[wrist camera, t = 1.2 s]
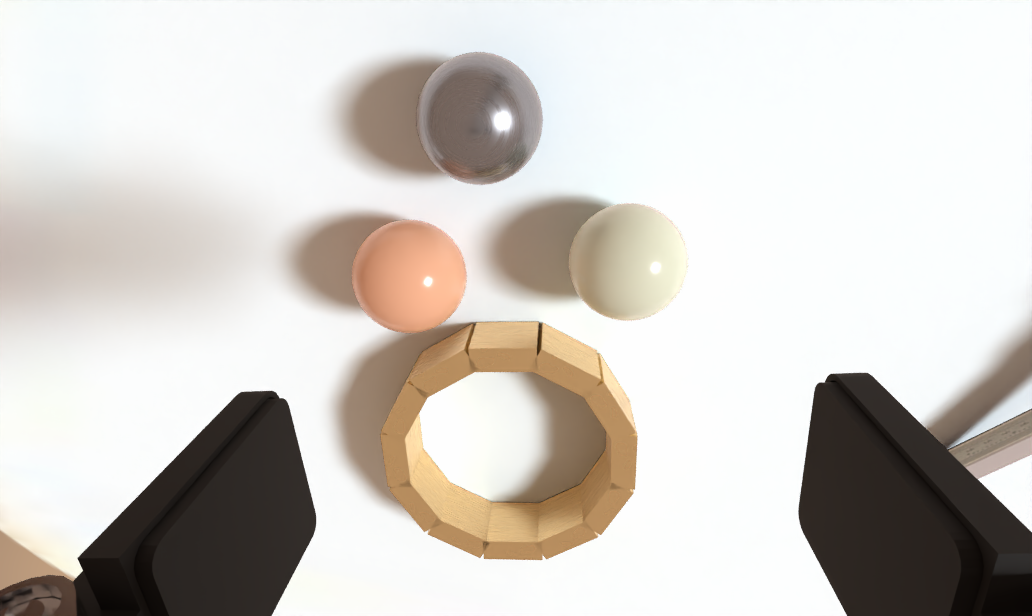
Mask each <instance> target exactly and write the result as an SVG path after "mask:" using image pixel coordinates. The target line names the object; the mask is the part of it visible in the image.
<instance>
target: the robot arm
mask: <svg viewBox="0 0 1032 616" xmlns="http://www.w3.org/2000/svg"><path fill="white" fill-rule="evenodd" d="M799 521H800V525H801V528H802V531H803V533H804V535H805V537H806V539H807V541H808V542H809V544H810V546H811V548H812V550H813V552H814V554H815V556H816V558H817V559H818V561H819V563H820V565H821V567H822V569H823V571H824V573H825V575H826V577H827V578H828V580H829V582H830V584H831V586H832V588H833V590H834V592H835V594H836V595H837V597H838V599H839V601H840V603H841V605H842V607H843V609H844V611H845V612H846V614H847V616H1032V532H1031V531H1030V530H1029V529H1028V528H1027V527H1026V526H1025V525H1023V524H1022V523H1021V522H1020V521H1019V520H1018V519H1017V518H1016V517H1015V516H1014V515H1013V514H1012V513H1011V512H1010V511H1009V510H1008V509H1007V508H1006V507H1005V506H1004V505H1003V504H1002V503H1001V502H1000V501H999V500H998V499H997V498H996V497H995V496H994V495H993V494H992V493H991V492H990V491H989V490H988V489H987V488H986V487H985V486H984V485H983V484H982V483H981V482H980V481H979V480H978V479H977V478H976V477H975V476H974V475H973V474H971V473H970V472H969V471H968V470H967V469H966V468H965V467H964V466H963V465H962V464H961V463H960V462H959V461H958V460H957V459H956V458H955V457H954V456H953V455H952V454H951V453H950V452H949V451H948V450H947V449H946V448H945V447H944V446H943V445H942V444H941V443H940V442H939V441H938V440H937V439H936V438H935V437H934V436H933V435H932V434H931V433H930V432H929V431H928V430H927V429H926V428H925V427H924V426H923V425H922V424H920V423H919V422H918V421H917V420H916V419H915V418H914V417H913V416H912V415H911V414H910V413H909V412H908V411H907V410H906V409H905V408H904V407H903V406H902V405H901V404H900V403H899V402H898V401H897V400H896V399H895V398H894V397H893V396H892V395H891V394H890V393H889V392H888V391H887V390H886V389H885V388H884V387H883V386H882V385H881V384H880V383H879V382H878V381H877V380H876V379H875V378H874V377H873V376H871V375H870V374H868V373H844V374H830V375H829V376H828V377H827V379H826V381H825V383H818V384H817V385H816V387H815V392H814V399H813V406H812V413H811V421H810V428H809V435H808V443H807V450H806V458H805V465H804V472H803V480H802V487H801V494H800V502H799ZM315 528H316V513H315V509H314V505H313V501H312V497H311V493H310V489H309V485H308V481H307V477H306V473H305V469H304V465H303V461H302V457H301V453H300V449H299V445H298V441H297V437H296V433H295V429H294V425H293V421H292V417H291V413H290V409H289V405H288V403H287V401H286V400H285V399H283V398H279V396H278V395H277V393H276V392H274V391H253V392H241V393H239V394H238V395H237V396H236V397H235V398H234V399H233V400H232V401H231V402H230V403H229V404H228V405H227V406H226V407H225V408H224V409H223V410H222V411H221V412H220V413H219V414H218V415H217V416H216V417H215V418H214V419H213V420H212V421H211V422H210V423H209V424H208V425H207V426H206V427H205V428H204V429H203V430H202V431H201V432H200V433H199V434H198V435H197V436H196V437H195V439H194V440H193V441H192V442H191V443H190V444H189V445H188V446H187V447H186V448H185V449H184V450H183V451H182V452H181V453H180V454H179V455H178V456H177V457H176V458H175V459H174V460H173V461H172V462H171V463H170V464H169V465H168V466H167V467H166V468H165V469H164V470H163V471H162V472H161V473H160V474H159V475H158V476H157V477H156V478H155V479H154V480H153V481H152V482H151V484H150V485H149V486H148V487H147V488H146V489H145V490H144V491H143V492H142V493H141V494H140V495H139V496H138V497H137V498H136V499H135V500H134V501H133V502H132V503H131V504H130V505H129V506H128V507H127V508H126V509H125V510H124V511H123V512H122V513H121V514H120V515H119V516H118V517H117V518H116V519H115V520H114V521H113V522H112V523H111V524H110V525H109V526H108V528H107V529H106V530H105V531H104V532H103V533H102V534H101V535H100V536H99V537H98V538H97V539H96V540H95V541H94V542H93V543H92V544H91V545H90V546H89V547H88V548H87V549H86V550H85V551H84V552H83V553H82V554H81V555H80V556H79V557H78V560H79V563H80V565H81V567H82V569H83V571H82V572H81V574H80V575H79V576H78V577H77V578H76V579H75V580H74V581H73V582H72V581H71V580H69V579H67V578H66V577H64V576H55V575H47V576H41V577H35V578H30V579H27V580H24V581H21V582H19V583H16V584H13V585H10V586H8V587H6V588H4V589H2V590H0V616H272V614H273V612H274V610H275V608H276V606H277V604H278V602H279V600H280V598H281V596H282V594H283V593H284V591H285V589H286V587H287V585H288V583H289V581H290V579H291V577H292V575H293V573H294V571H295V570H296V568H297V566H298V564H299V562H300V560H301V558H302V556H303V554H304V552H305V550H306V548H307V547H308V545H309V543H310V541H311V539H312V537H313V535H314V532H315Z"/></svg>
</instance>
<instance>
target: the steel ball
mask: <svg viewBox="0 0 1032 616" xmlns="http://www.w3.org/2000/svg"><path fill="white" fill-rule="evenodd" d="M542 123H543V116H542V108H541V103H540V99H539V96H538V93H537V91H536V89H535V87H534V85H533V84H532V82H531V81H530V79H529V78H528V76H527V75H526V74H525V73H524V72H523V71H522V70H521V69H520V68H519V67H518V66H516V65H515V64H514V63H512V62H511V61H509V60H507V59H505V58H503V57H501V56H498V55H495V54H491V53H485V52H473V53H466V54H462V55H459V56H456V57H454V58H452V59H450V60H448V61H446V62H445V63H443V64H442V65H441V66H439V67H438V68H437V69H436V70H435V71H434V72H433V73H432V74H431V75H430V77H429V78H428V80H427V81H426V83H425V85H424V87H423V88H422V91H421V94H420V96H419V100H418V104H417V112H416V124H417V131H418V135H419V139H420V142H421V144H422V146H423V149H424V150H425V152H426V154H427V155H428V157H429V158H430V159H431V161H432V162H433V163H434V164H435V165H436V166H437V167H438V168H439V169H440V170H441V171H442V172H444V173H445V174H447V175H448V176H450V177H452V178H454V179H456V180H458V181H461V182H465V183H469V184H476V185H485V184H493V183H497V182H500V181H503V180H505V179H507V178H509V177H511V176H513V175H514V174H515V173H517V172H518V171H519V170H520V169H522V168H523V167H524V166H525V165H526V163H527V162H528V161H529V160H530V158H531V157H532V155H533V154H534V152H535V150H536V148H537V146H538V143H539V140H540V137H541V132H542Z"/></svg>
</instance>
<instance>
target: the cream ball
mask: <svg viewBox="0 0 1032 616" xmlns="http://www.w3.org/2000/svg"><path fill="white" fill-rule="evenodd" d="M687 268H688V254H687V248H686V245H685V241H684V239H683V237H682V235H681V233H680V231H679V230H678V228H677V227H676V225H675V224H674V223H673V222H672V221H671V220H670V219H669V218H668V217H667V216H665V215H664V214H663V213H661V212H660V211H658V210H656V209H654V208H652V207H649V206H645V205H641V204H634V203H624V204H617V205H613V206H610V207H607V208H604V209H602V210H600V211H598V212H597V213H596V214H594V215H593V216H591V217H590V218H589V219H588V220H587V221H586V222H585V223H584V224H583V225H582V226H581V228H580V229H579V231H578V232H577V234H576V236H575V238H574V240H573V242H572V245H571V249H570V254H569V272H570V277H571V280H572V283H573V286H574V288H575V290H576V292H577V293H578V295H579V296H580V298H581V299H582V300H583V301H584V302H585V303H586V304H587V305H588V306H589V307H590V308H591V309H593V310H594V311H596V312H597V313H599V314H601V315H603V316H606V317H608V318H612V319H616V320H623V321H632V320H639V319H644V318H647V317H650V316H652V315H654V314H656V313H658V312H660V311H661V310H663V309H664V308H665V307H667V306H668V305H669V304H670V303H671V302H672V301H673V300H674V298H675V297H676V296H677V294H678V293H679V291H680V290H681V288H682V285H683V283H684V281H685V278H686V274H687Z"/></svg>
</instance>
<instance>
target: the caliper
mask: <svg viewBox="0 0 1032 616" xmlns="http://www.w3.org/2000/svg"><path fill="white" fill-rule="evenodd" d="M948 451H949V452H950V453H951V454H952V455H953V456H954V457H955V458H956V459H957V460H958V461H959V462H960V463H961V464H962V465H963V466H964V467H965V468H966V469H967V470H968V471H969V472H970V473H971V474H973V475H974V476H975V477H976V478H977V479H979V478H981V477H983V476H985V475H987V474H990V473H992V472H994V471H996V470H998V469H1001V468H1003V467H1005V466H1007V465H1009V464H1012V463H1014V462H1016V461H1018V460H1020V459H1023V458H1025V457H1027V456H1029V455H1031V454H1032V409H1030V410H1028V411H1026V412H1024V413H1022V414H1020V415H1018V416H1016V417H1014V418H1012V419H1010V420H1008V421H1006V422H1004V423H1002V424H1000V425H998V426H996V427H994V428H991V429H989V430H987V431H985V432H983V433H981V434H979V435H977V436H975V437H973V438H971V439H969V440H967V441H965V442H962V443H960V444H958V445H956V446H954V447H952V448H950V449H948Z"/></svg>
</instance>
